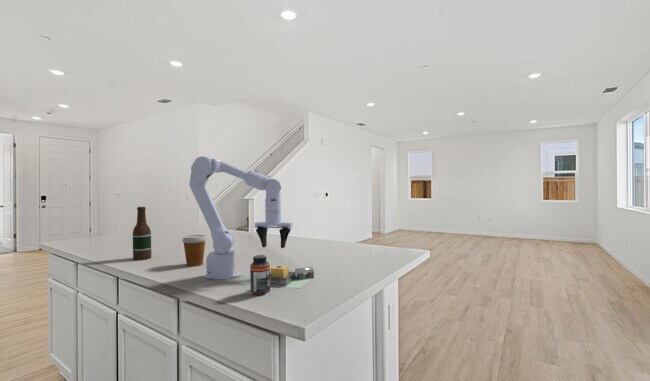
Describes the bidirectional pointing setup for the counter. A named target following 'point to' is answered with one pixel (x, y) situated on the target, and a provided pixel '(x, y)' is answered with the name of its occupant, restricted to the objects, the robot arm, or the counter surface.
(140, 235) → the beer bottle
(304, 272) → the shaft
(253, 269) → the supplement bottle
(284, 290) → the counter surface
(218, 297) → the counter surface
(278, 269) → the yellow block
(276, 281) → the frame
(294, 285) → the mat
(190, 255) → the disposable coffee cup
